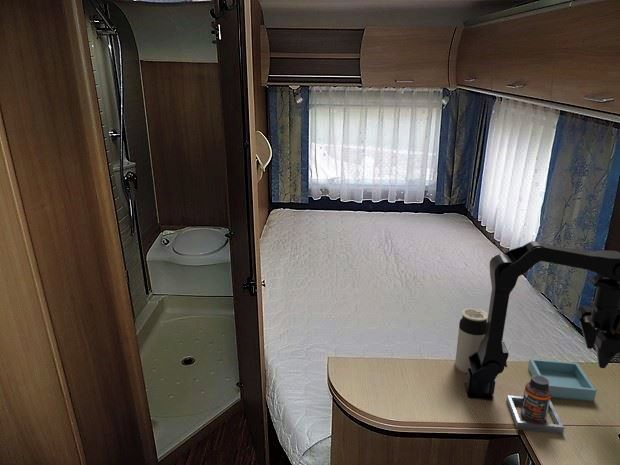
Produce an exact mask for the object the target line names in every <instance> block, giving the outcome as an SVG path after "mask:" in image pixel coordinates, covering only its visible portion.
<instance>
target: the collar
mask: <svg viewBox="0 0 620 465" xmlns="http://www.w3.org/2000/svg"><path fill="white" fill-rule="evenodd" d="M505 401H506V403H507V406H508V410H509V412H510V414H511V417H512V420H513V423H514V426H515V428H516V430H522V431H529V432H538V433H547V434H554V435H555V434H557V435H564V433H565V426H564V424H563V421H562V420H561V418H560V417H559V415H558V412H557V410H556V409H555V406H554V405H553V403H552V401H551V400H550V403H549V408H548V413H549V415H550V417H551V419H552V421H553V423H545V422H544V423H538V422H529V421H527V420H521V418H520V416H519V414H518V410H517V408H516V406H515V404H516V405H517V404H518V405H522V402H523V396H522V395H521V396H520V395H519V396H518V395H509V394H507V395H506V400H505Z"/></svg>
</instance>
